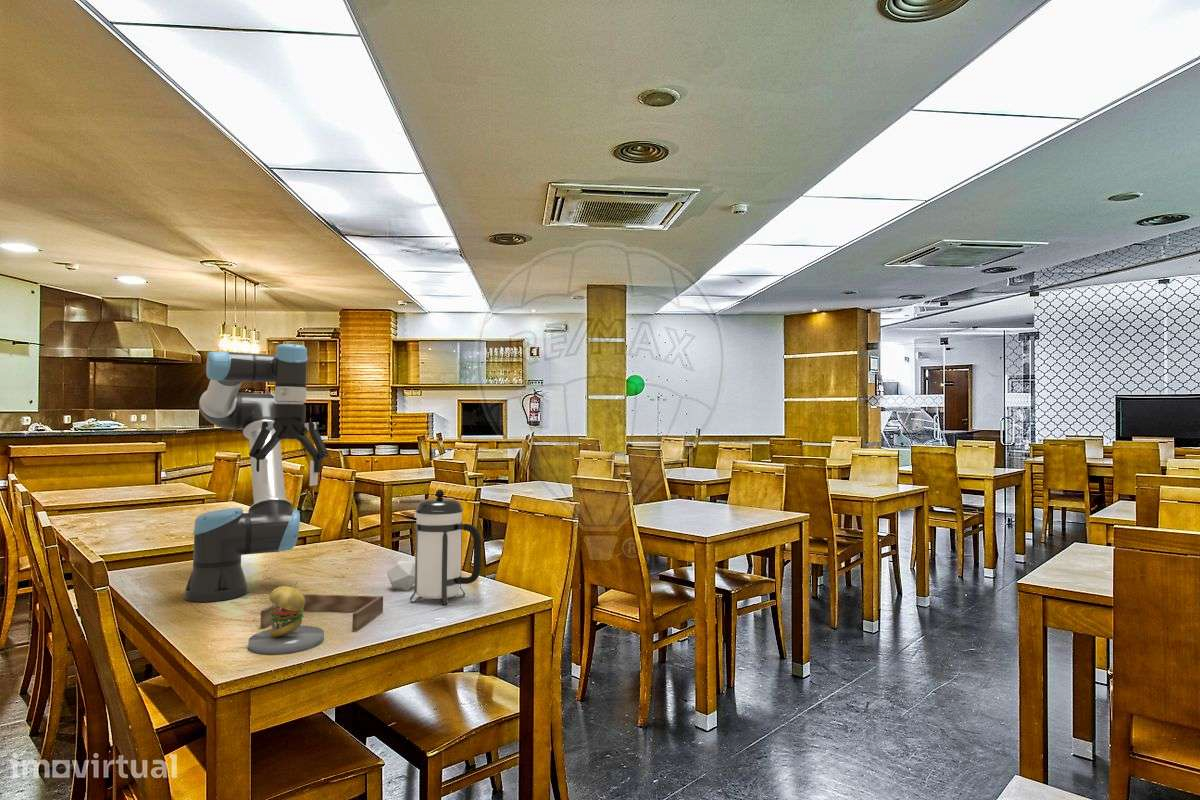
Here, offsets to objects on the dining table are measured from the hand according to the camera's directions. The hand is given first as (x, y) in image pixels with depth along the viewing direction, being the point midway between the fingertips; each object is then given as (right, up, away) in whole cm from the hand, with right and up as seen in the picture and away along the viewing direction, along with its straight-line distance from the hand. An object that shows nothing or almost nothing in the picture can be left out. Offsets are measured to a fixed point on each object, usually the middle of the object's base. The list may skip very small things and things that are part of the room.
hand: (288, 485), depth 178 cm
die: (+24, -33, +20) cm, 46 cm away
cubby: (+14, -31, -12) cm, 36 cm away
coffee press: (+38, -33, +9) cm, 51 cm away
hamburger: (+13, -30, -29) cm, 43 cm away
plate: (+13, -31, -29) cm, 44 cm away
